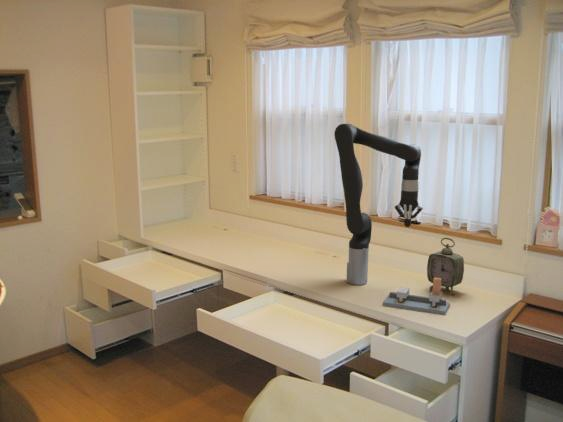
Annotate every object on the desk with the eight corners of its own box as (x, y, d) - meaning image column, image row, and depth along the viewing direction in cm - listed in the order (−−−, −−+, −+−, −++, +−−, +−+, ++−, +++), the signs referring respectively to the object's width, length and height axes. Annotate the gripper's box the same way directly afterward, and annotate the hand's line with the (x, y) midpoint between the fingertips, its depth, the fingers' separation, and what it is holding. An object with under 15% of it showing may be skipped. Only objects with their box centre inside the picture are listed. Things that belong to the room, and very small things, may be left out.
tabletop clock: (425, 289, 286) (428, 236, 281) (436, 285, 292) (439, 233, 287) (453, 297, 276) (457, 242, 271) (464, 292, 282) (468, 239, 277)
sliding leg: (428, 305, 259) (430, 282, 256) (432, 300, 265) (433, 277, 263) (438, 307, 257) (440, 283, 255) (441, 301, 264) (443, 278, 262)
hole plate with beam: (382, 305, 264) (383, 292, 263) (389, 296, 275) (390, 284, 274) (444, 314, 254) (445, 301, 253) (449, 305, 265) (450, 292, 264)
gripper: (393, 189, 278) (391, 226, 282) (422, 191, 273) (420, 230, 276) (397, 186, 285) (395, 223, 288) (426, 189, 280) (423, 226, 283)
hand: (407, 226), depth 282 cm, fingers closed
